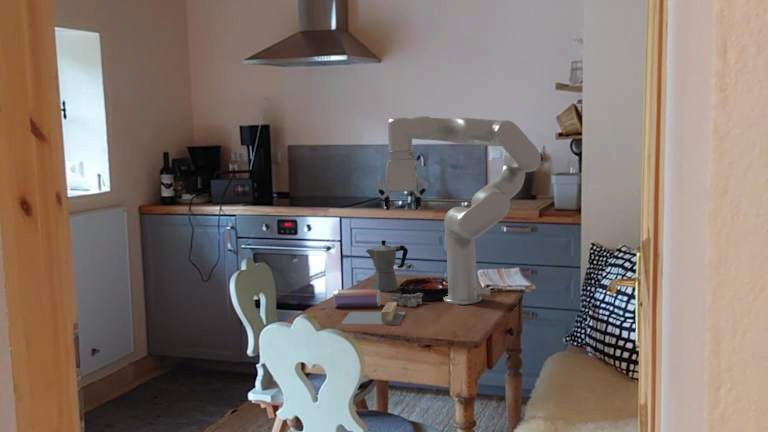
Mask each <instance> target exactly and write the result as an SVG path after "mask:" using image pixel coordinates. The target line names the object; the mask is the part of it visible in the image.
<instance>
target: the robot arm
mask: <svg viewBox="0 0 768 432" xmlns="http://www.w3.org/2000/svg"><path fill="white" fill-rule="evenodd" d="M387 131H388V135H387V136H388V156H389V157H388V160H387V162H386V169H385V178H384V179H382V180H380V181H379V182H377V183H375V188H376V190H377V191H378V193H379V194H380V196H382V197H383V202H384V203H383V204H384V208H386V210H385V211H389V210H390V209H391V201H390V200H391V199H390V193H391V192H392V193H397V192H398V193H400V192H401V193H402V192H413V193H414V195H415V210H419V209H420V207H421V205H422V203H421V201H422V199H421V196H422V195H424V193H425V192H426V191H427V189H428V186H429V185H430V183H429V182H427V181H425V180H423V179H422V178H419V177H418V175H419V174H418V169H417V164H416V163H417V162H416V160H415V159H413V158H415V157H418V152H414V151H413V140H424V141H438V142H449V143H452V144H453V143H454V144H462V145H477V146H492V147H493V146H494V147H502V148H503V149H504V151H505V152H504V155H503V156H504V157H503V166H502V171H501V172H500V173H499V174H498V175H497V177H495V178H494V179H493V180H492V181H490V182H489V183H487V184H486V185H485V186H484V187H482V188H481V189H479V190H478V191H477V192H476V193H475V194H474V195H473V196H472V198H471V206H470V207H469V208H468V207H465V206H455V207H454V206H453V207H452V208H451V209H449V210H448V211H447V213H446V214H445V216H444V220H443V223H444V225H443V227H444V232H445V240H446V259H447V261H446V262H447V263H446V265H447V266H446V267H447V295H448V296H445V295H444V296H445V297H444V296H443V301H444V302H445V303H449V304H453V305H471V304H476V303H479V302H481V301H482V296H485V297H487V296H491V289H487V288H483V289H482V288H481V289H480V287H479V286H478V285H477V256H476V254H477V253H476V251H477V249H476V241H475V239H477V238H478V237H480V236H482V235H484V234H485V233H486V232H487V231H489V230H490V229H491V228H493V227H494V226H495V225H496V224H498V223H499V222H500V221H502V220H503V219H504V218H505V217H506V215H507V214H508V213H509V211H510V207H511V199H512V198H513V197H514V196H516V194H518V193H519V192H520V191H521V189H522V187H523V185H524V183H525V178H526V173H531V172H534V171H536V170H537V169H538V168H539V167H540V165H541V162H542V157H541V153H540V151H539V150H538V148H537V147H536V145H535V144H534V142H532V141H531V140H530V139H529V137H528V136H527V135H526V133H524V132H523V130H522V129H521V128H520V127H519V126H518V125H517V124H516V123H515V122H513V121H511V120H507V119H506V120H503V119H502V120H500V119H498V120H497V119H485V118H483V119H482V118H474V117H473V118H471V117H451V118H450V117H449V118H448V117H447V118H446V117H445V118H439V117H430V116H426V115H418V116H417V115H416V116H413V117H411V118H409V117H392V118H390V119H388V121H387ZM384 184H385V189H386V191H384V190H383V188H382V187H381V186H382V185H384ZM419 184H420V185H422V189H421V190H419V189H418V188H419Z"/></svg>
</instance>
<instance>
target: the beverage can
mask: <svg viewBox="0 0 768 432" xmlns="http://www.w3.org/2000/svg"><path fill="white" fill-rule="evenodd" d="M332 296H333V298H332V299H333V302H332V303H333V306H334V308H379V307H380V306H381V298H382V297H381V292H380V290H378V289H373V288H368V289H367V288H366V289H365V288H363V289H362V288H361V289H359V288H358V289H357V288H355V289H353V288H352V289H348V288H347V289H335V290H333V295H332Z"/></svg>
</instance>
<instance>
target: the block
mask: <svg viewBox="0 0 768 432" xmlns="http://www.w3.org/2000/svg"><path fill="white" fill-rule="evenodd" d="M380 312H381V319H382V323H392V322H393V320H394V318H395V316H396V314H397V312H398V304H397V302H390V301H387V302H386V303H385V305H384V307H383V308H382V310H381V311H380Z"/></svg>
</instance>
